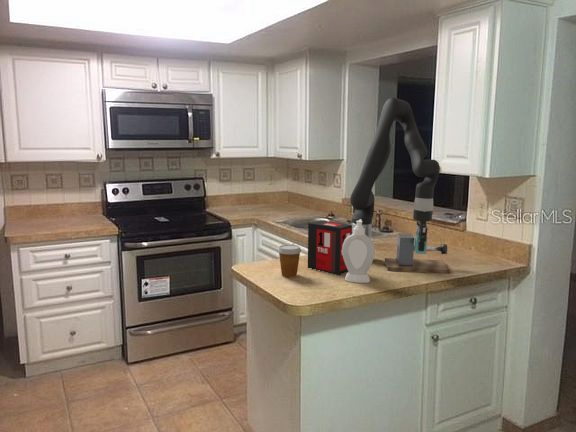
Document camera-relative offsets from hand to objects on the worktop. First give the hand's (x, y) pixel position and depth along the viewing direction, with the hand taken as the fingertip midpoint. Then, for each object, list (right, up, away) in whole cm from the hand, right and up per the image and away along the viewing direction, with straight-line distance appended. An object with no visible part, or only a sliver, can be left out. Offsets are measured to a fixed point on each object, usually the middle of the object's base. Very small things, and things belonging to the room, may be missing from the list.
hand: (420, 248), depth 198 cm
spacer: (0, -1, 0) cm, 1 cm away
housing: (-3, -7, +15) cm, 17 cm away
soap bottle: (-27, -12, -6) cm, 30 cm away
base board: (+2, -9, +15) cm, 17 cm away
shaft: (+7, -3, +13) cm, 15 cm away
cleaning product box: (-37, -10, +10) cm, 39 cm away
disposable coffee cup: (-54, -11, +1) cm, 55 cm away
